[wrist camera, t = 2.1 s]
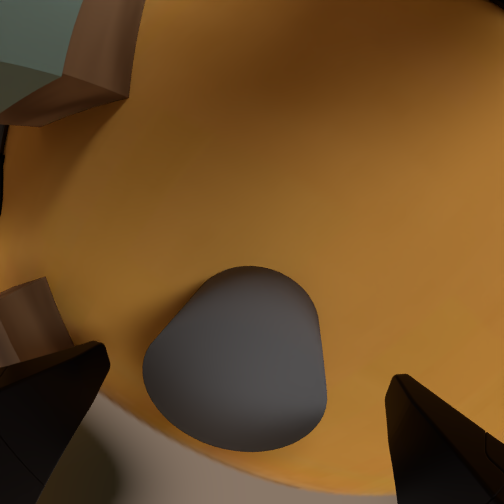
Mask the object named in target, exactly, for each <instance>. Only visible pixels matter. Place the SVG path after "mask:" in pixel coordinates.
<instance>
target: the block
mask: <svg viewBox="0 0 504 504" xmlns="http://www.w3.org/2000/svg"><path fill="white" fill-rule="evenodd" d="M71 347H74V344H73V342H72V340H71V338H70V336H69V334H68V332H67V330H66V327H65V325H64V323H63V321H62V318H61V316H60V314H59V311H58V309H57V306H56V304H55V301H54V299H53V296H52V293H51V291H50V288H49V285H48V282H47V279H46V277H43V278H39V279H36V280H33V281H30V282H27V283H24V284H21V285H18V286H14V287H12V288H10V289H7V290H5V291H3V292H1V293H0V367H4V366H9V365H12V364H15V363H19V362H23V361H26V360H30V359H33V358H37V357H40V356H44V355H47V354H51V353H54V352H58V351H61V350H64V349H68V348H71Z"/></svg>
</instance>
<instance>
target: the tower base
mask: <svg viewBox="0 0 504 504" xmlns="http://www.w3.org/2000/svg"><path fill="white" fill-rule="evenodd" d="M144 4H145V0H83V2H82V4H81V7H80V10H79V13H78V16H77V19H76V22H75V25H74V28H73V31H72V35H71V38H70V42H69V46H68V50H67V54H66V58H65V63H64V67H63V72H62V77H60V78H58V79H56V80H54V81H52V82H50V83H48V84H46V85H45V86H43V87H41V88H39V89H37V90H36V91H34V92H32V93H31V94H29V95H27V96H26V97H24V98H22V99H21V100H19V101H18V102H16V103H15V104H13V105H12V106H10V107H9V108H7V109H6V110H4V111H3V112H1V113H0V125H19V126H33V127H42V126H44V125H46V124H49V123H51V122H54V121H56V120H59V119H61V118H64V117H67V116H69V115H72V114H75V113H78V112H81V111H84V110H87V109H90V108H93V107H96V106H100V105H103V104H106V103H110V102H114V101H117V100H121V99H125V98H129V91H130V82H131V74H132V66H133V59H134V53H135V47H136V41H137V36H138V31H139V26H140V21H141V17H142V12H143V8H144Z"/></svg>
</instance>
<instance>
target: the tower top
mask: <svg viewBox="0 0 504 504" xmlns="http://www.w3.org/2000/svg"><path fill="white" fill-rule="evenodd" d="M82 2H83V0H0V113H1V112H3V111H4V110H6V109H7V108H9V107H10V106H12V105H13V104H15V103H16V102H18V101H19V100H21V99H22V98H24V97H26V96H27V95H29V94H31V93H32V92H34V91H36V90H37V89H39V88H41V87H43V86H45V85H46V84H48V83H50V82H52V81H54V80H56V79H58V78H60V77H62V72H63V67H64V63H65V58H66V54H67V50H68V46H69V42H70V38H71V35H72V31H73V28H74V25H75V22H76V19H77V16H78V13H79V10H80V7H81V4H82Z"/></svg>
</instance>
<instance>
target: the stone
mask: <svg viewBox="0 0 504 504" xmlns="http://www.w3.org/2000/svg"><path fill="white" fill-rule="evenodd" d="M143 379H144V384H145V387H146V390H147V392H148V394H149V396H150V398H151V400H152V402H153V403H154V405H155V406H156V407H157V409H158V410H159V411H160V412H161V413H162V415H163V416H164V417H165V418H166V419H167V420H168V421H169V422H171V423H172V424H173V425H174V426H176V427H177V428H178V429H180V430H181V431H183V432H184V433H186V434H188V435H189V436H191V437H193V438H195V439H197V440H199V441H201V442H204V443H206V444H209V445H212V446H215V447H219V448H222V449H227V450H233V451H242V452H260V451H268V450H274V449H278V448H282V447H285V446H288V445H290V444H293V443H295V442H297V441H299V440H300V439H302V438H303V437H305V436H306V435H308V434H309V433H310V432H311V431H312V430H313V429H314V428H315V427H316V426H317V424H318V423H319V422H320V420H321V418H322V417H323V414H324V412H325V409H326V403H327V390H326V379H325V369H324V360H323V351H322V343H321V335H320V327H319V320H318V315H317V311H316V308H315V306H314V304H313V302H312V300H311V299H310V297H309V295H308V294H307V293H306V292H305V290H304V289H303V288H302V287H301V286H300V285H298V284H297V283H296V282H295V281H293V280H292V279H291V278H289V277H287V276H286V275H284V274H282V273H280V272H277V271H274V270H272V269H268V268H263V267H256V266H242V267H234V268H231V269H227V270H224V271H222V272H220V273H218V274H216V275H214V276H213V277H211V278H210V279H209V280H207V281H206V282H205V283H204V284H203V285H202V286H201V287H200V289H199V290H198V291H197V292H196V293H195V294H194V295H193V296H192V298H191V299H190V300H189V301H188V302H187V303H186V304H185V306H184V307H183V308H182V309H181V310H180V311H179V312H178V314H177V315H176V316H175V317H174V318H173V319H172V320H171V321H170V323H169V324H168V325H167V326H166V327H165V328H164V329H163V331H162V332H161V333H160V334H159V335H158V336H157V338H156V339H155V340H154V341H153V342H152V343H151V344H150V346H149V348H148V350H147V351H146V354H145V357H144V361H143Z"/></svg>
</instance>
